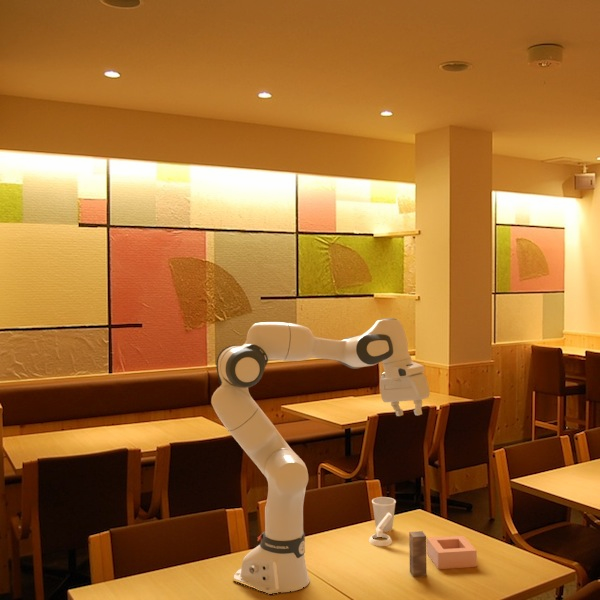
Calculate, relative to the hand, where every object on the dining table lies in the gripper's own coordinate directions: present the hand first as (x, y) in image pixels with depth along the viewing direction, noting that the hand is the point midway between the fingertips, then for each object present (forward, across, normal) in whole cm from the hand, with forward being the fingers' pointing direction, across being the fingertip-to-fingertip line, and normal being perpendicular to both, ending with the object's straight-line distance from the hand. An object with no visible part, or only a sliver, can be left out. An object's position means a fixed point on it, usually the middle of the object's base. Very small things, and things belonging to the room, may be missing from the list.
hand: (409, 415), depth 212 cm
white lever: (+42, -29, -2) cm, 51 cm away
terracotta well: (+47, -7, +8) cm, 48 cm away
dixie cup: (+41, -38, +6) cm, 56 cm away
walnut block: (+46, -4, -7) cm, 47 cm away
